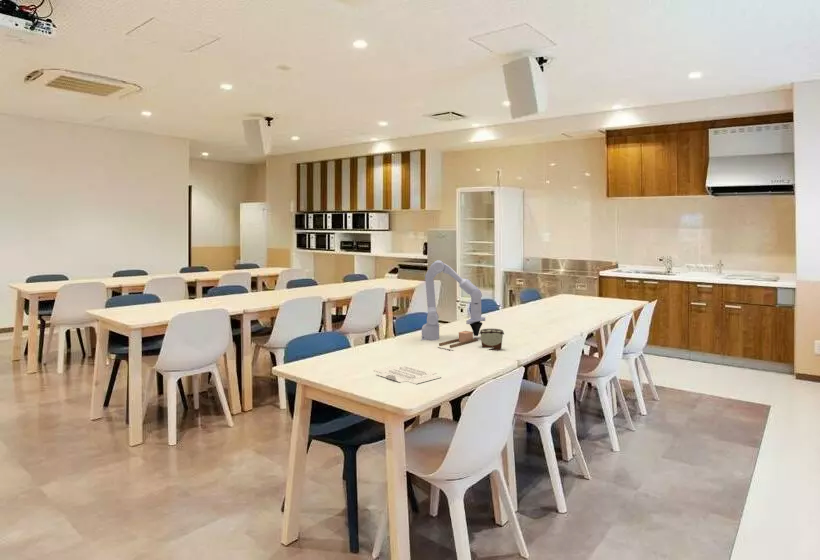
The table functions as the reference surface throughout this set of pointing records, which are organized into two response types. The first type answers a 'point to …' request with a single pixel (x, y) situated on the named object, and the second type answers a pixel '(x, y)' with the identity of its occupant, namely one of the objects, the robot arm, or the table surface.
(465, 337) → the block
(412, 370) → the white printed sheet
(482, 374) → the table surface
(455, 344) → the chute
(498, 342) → the food container
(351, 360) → the table surface
